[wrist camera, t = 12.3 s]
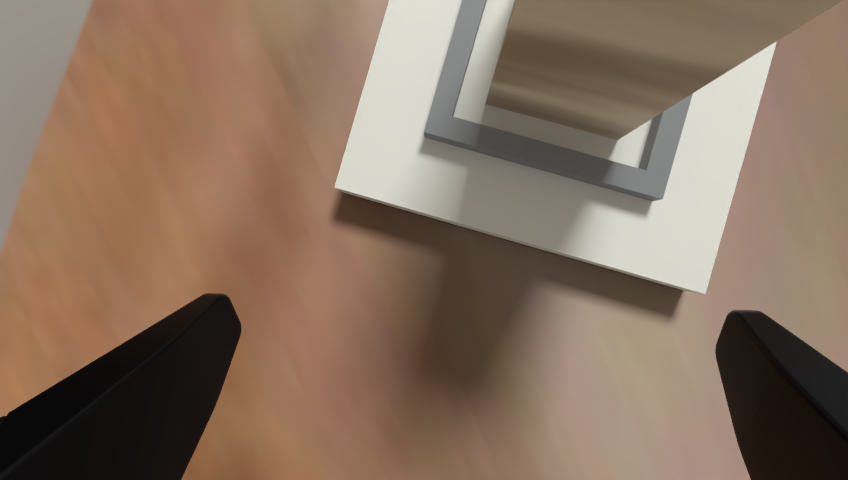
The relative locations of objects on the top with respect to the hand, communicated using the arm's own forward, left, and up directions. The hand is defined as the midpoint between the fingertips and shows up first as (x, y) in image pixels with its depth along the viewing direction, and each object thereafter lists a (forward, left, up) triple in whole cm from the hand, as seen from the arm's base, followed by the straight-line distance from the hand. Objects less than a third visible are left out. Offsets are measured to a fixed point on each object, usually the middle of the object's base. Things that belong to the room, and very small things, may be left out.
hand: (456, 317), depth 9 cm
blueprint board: (+9, -3, -10) cm, 14 cm away
